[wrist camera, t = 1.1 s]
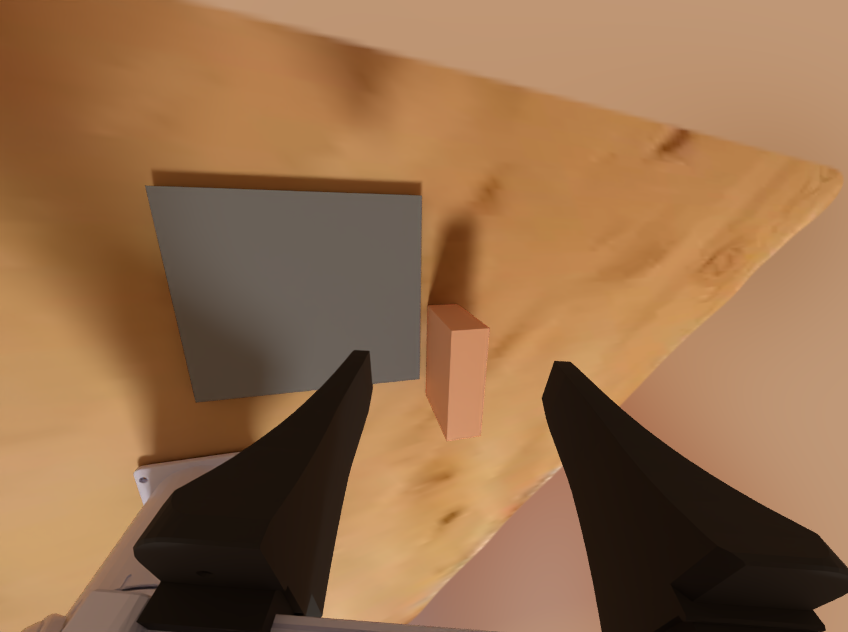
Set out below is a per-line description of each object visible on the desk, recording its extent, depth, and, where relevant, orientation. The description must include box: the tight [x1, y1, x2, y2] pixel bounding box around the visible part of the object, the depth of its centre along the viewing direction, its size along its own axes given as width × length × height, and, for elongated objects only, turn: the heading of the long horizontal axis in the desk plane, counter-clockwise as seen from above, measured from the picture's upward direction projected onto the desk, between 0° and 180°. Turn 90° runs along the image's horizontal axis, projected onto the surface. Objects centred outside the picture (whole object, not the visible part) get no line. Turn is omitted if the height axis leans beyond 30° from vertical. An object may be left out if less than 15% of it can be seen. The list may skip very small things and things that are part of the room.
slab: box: [426, 304, 490, 441], centre depth 23 cm, size 8×2×6 cm, turn 179°
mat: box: [145, 186, 422, 402], centre depth 21 cm, size 14×16×1 cm
